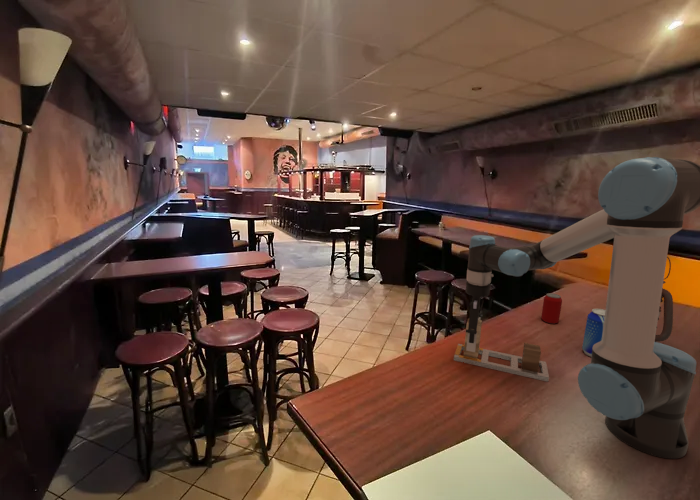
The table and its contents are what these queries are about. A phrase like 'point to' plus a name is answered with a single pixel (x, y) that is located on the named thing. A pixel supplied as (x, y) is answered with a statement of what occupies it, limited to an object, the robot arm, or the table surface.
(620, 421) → the robot arm
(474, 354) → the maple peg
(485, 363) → the white yellow rectangular frame
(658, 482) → the table surface
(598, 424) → the table surface
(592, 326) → the beer can
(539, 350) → the walnut peg
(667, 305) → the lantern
